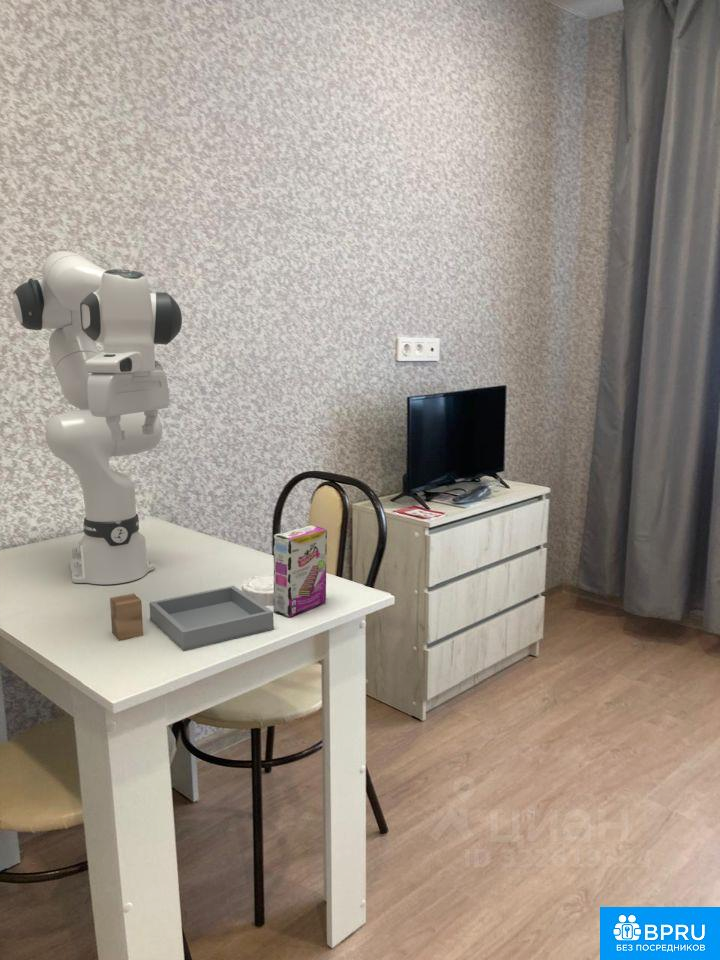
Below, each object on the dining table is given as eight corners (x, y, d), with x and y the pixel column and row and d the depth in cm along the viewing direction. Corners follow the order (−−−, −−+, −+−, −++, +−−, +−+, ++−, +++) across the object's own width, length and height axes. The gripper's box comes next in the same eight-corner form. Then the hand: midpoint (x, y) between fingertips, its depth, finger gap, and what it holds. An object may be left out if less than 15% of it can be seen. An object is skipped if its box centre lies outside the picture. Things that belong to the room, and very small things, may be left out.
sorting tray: (150, 619, 147) (149, 602, 146) (234, 601, 157) (233, 585, 156) (183, 650, 132) (182, 632, 132) (273, 629, 142) (273, 611, 141)
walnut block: (112, 633, 140) (109, 597, 139) (135, 628, 143) (133, 593, 141) (119, 641, 136) (116, 605, 135) (143, 635, 139) (141, 600, 138)
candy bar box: (290, 618, 148) (289, 539, 144) (273, 612, 151) (271, 534, 148) (328, 603, 156) (327, 527, 153) (310, 598, 159) (310, 523, 156)
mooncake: (262, 584, 168) (261, 569, 168) (308, 592, 163) (307, 577, 162) (230, 601, 158) (230, 585, 157) (278, 610, 153) (278, 594, 152)
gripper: (147, 360, 145) (151, 430, 148) (78, 362, 126) (84, 443, 129) (175, 360, 143) (178, 431, 146) (110, 363, 124) (115, 445, 127)
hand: (133, 437), depth 137 cm, fingers open, 8 cm apart
